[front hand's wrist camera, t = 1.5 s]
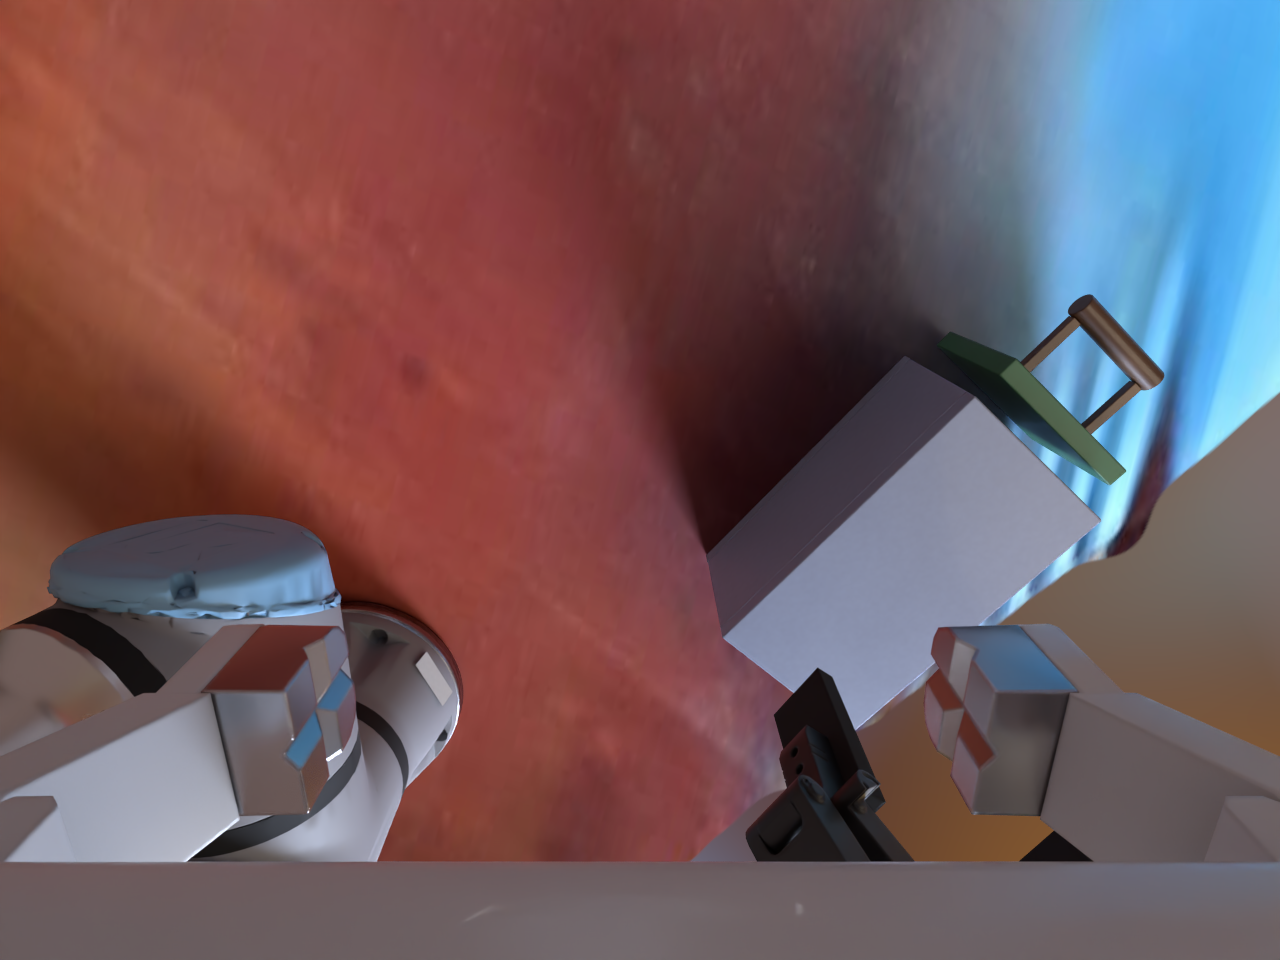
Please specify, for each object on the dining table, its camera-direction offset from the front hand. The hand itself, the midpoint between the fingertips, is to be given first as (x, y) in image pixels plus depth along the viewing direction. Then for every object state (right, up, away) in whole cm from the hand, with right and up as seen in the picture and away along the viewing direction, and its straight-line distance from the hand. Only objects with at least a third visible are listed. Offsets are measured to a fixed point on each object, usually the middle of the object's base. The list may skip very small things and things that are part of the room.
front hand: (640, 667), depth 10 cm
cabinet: (+15, +1, +43) cm, 46 cm away
